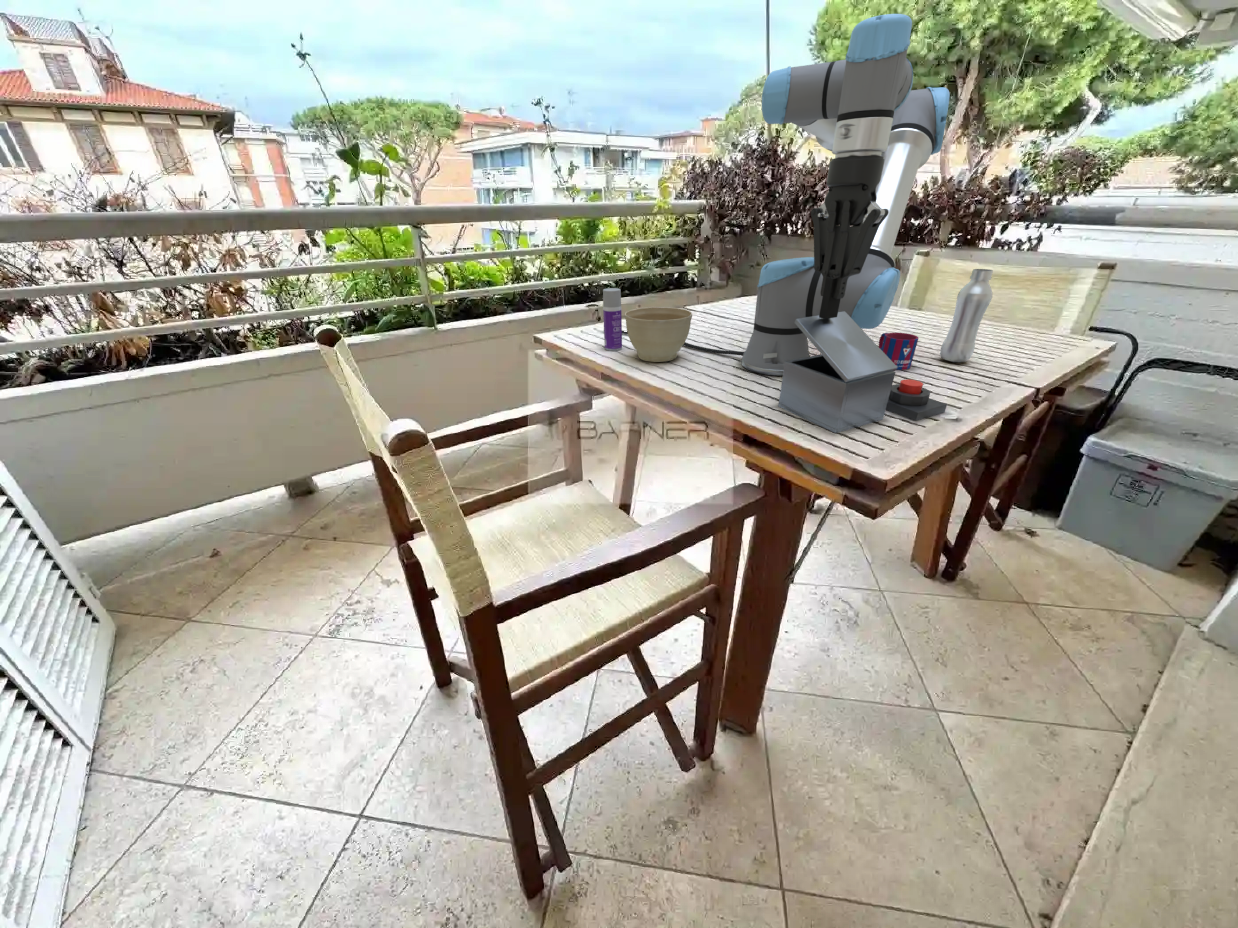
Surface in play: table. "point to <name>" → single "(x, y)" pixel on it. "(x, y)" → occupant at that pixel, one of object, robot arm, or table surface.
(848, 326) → the lid
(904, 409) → the button base
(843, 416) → the tin
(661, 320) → the planter bowl
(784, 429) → the table surface
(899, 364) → the mug
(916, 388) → the button
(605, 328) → the container
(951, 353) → the silver metal bottle
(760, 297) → the robot arm
